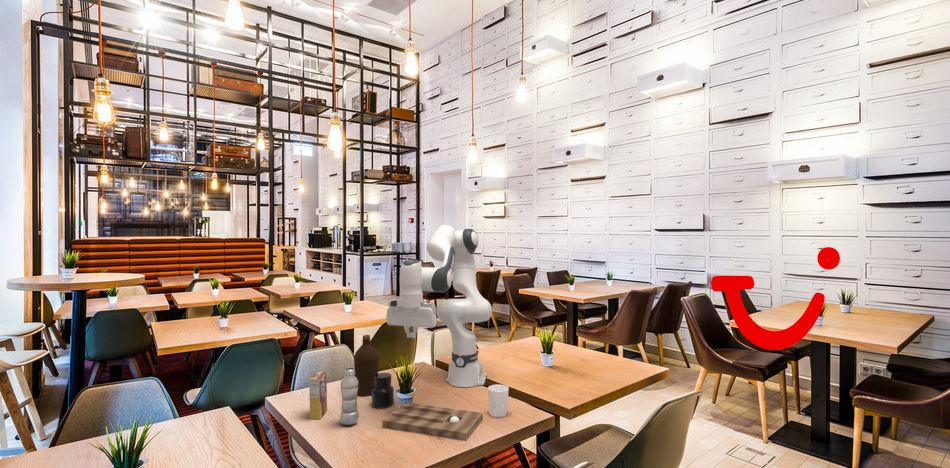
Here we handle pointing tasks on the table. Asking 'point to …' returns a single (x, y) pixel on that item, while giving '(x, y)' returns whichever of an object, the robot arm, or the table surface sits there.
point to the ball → (454, 419)
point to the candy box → (318, 395)
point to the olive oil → (366, 366)
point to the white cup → (498, 400)
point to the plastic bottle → (349, 397)
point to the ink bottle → (382, 391)
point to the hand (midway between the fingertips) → (411, 337)
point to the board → (433, 421)
